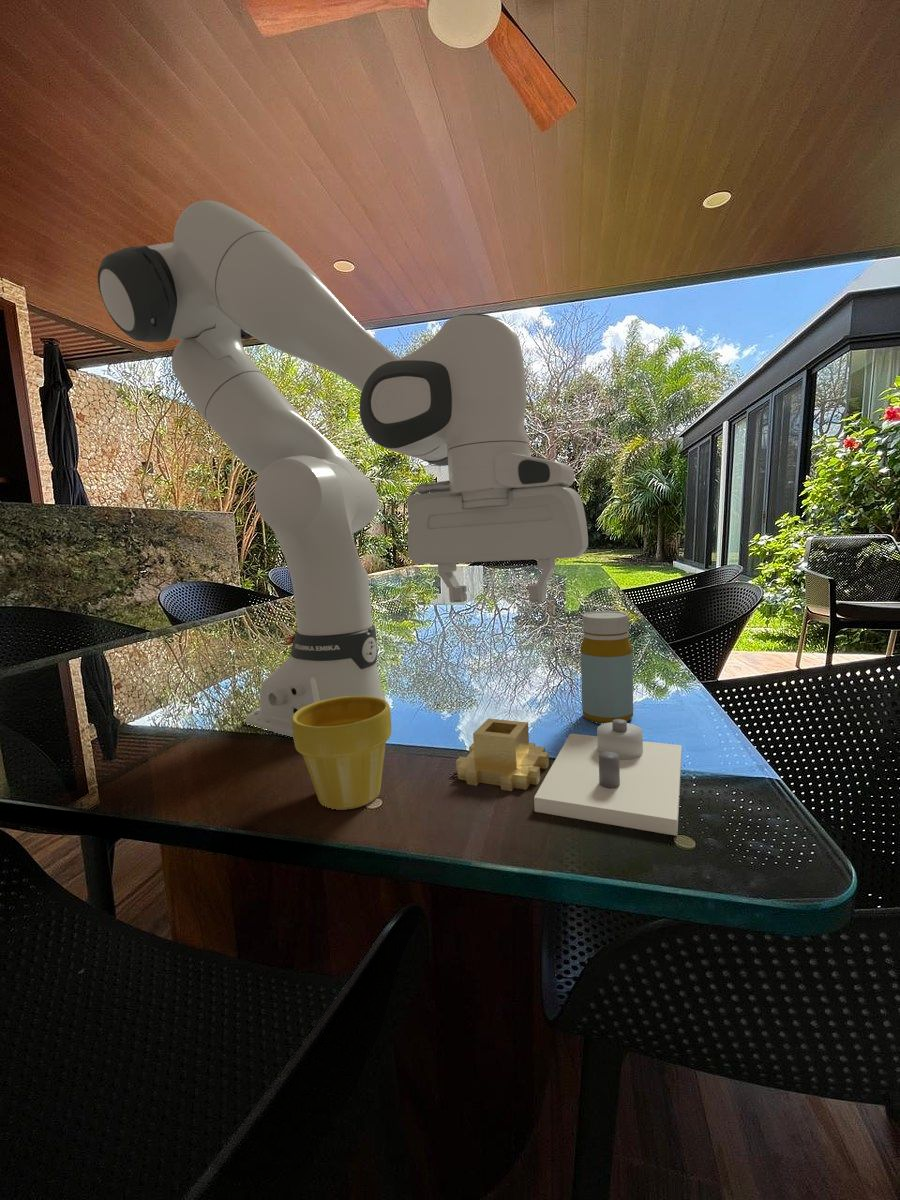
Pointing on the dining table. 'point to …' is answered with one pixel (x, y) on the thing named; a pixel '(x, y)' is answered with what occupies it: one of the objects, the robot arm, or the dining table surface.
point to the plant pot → (344, 748)
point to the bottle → (606, 667)
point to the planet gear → (502, 756)
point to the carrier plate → (619, 803)
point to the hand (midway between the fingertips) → (497, 601)
